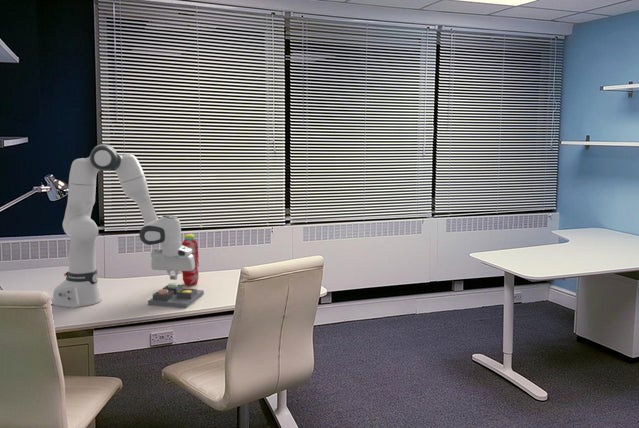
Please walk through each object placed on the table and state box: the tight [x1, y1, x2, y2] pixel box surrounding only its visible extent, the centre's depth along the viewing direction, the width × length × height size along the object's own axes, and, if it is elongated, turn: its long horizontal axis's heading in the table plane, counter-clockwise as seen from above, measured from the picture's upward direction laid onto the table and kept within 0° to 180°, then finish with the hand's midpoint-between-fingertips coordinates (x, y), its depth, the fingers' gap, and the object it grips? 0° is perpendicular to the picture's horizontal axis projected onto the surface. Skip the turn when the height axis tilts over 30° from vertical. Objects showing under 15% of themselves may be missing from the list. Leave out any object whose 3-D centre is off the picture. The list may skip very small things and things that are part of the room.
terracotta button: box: [157, 288, 168, 295], centre depth 263 cm, size 4×4×2 cm
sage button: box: [167, 282, 179, 288], centre depth 273 cm, size 4×4×2 cm
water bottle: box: [181, 233, 200, 286], centre depth 291 cm, size 12×8×25 cm, turn 72°
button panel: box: [147, 284, 205, 309], centre depth 268 cm, size 18×20×4 cm
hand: (173, 279), depth 273 cm, fingers closed
